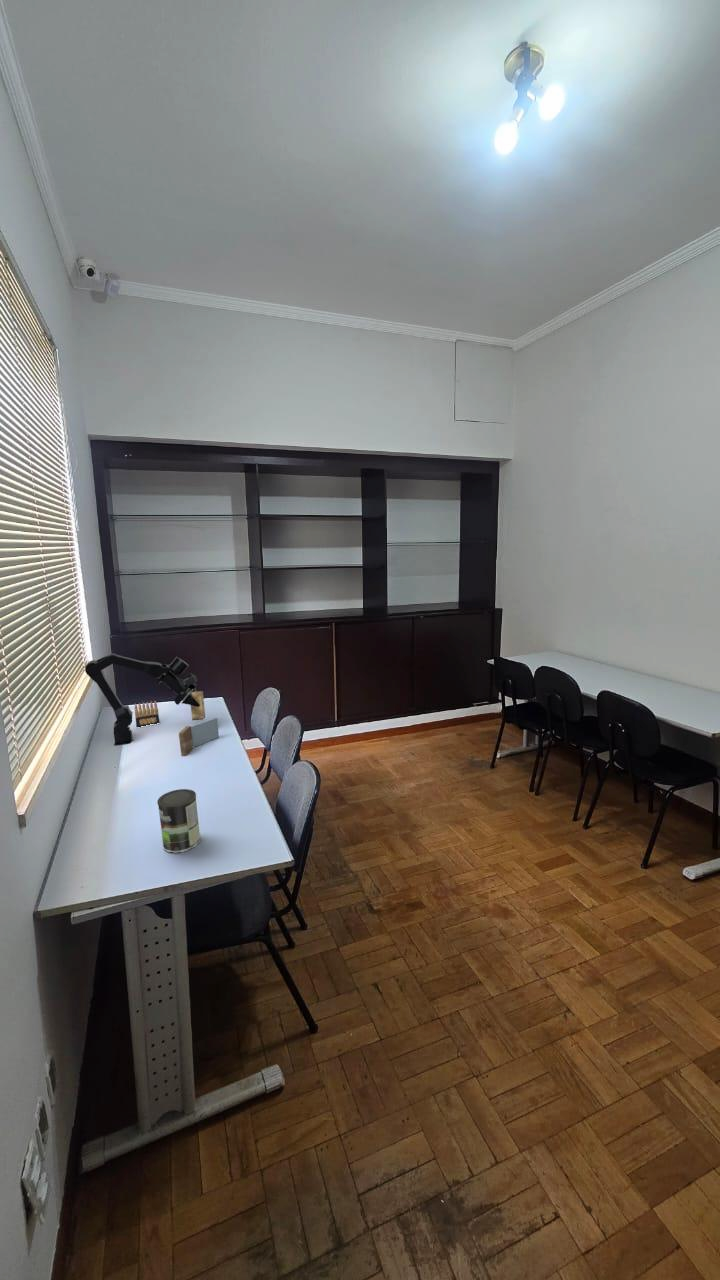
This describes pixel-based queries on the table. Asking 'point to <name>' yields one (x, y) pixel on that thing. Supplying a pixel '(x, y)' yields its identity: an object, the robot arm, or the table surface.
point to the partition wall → (186, 740)
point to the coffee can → (179, 820)
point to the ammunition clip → (146, 714)
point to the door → (204, 731)
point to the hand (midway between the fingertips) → (200, 704)
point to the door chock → (198, 712)
